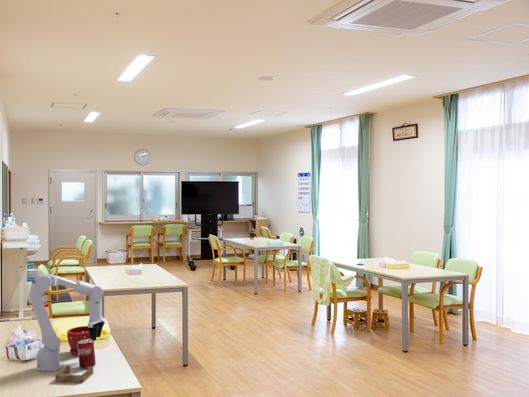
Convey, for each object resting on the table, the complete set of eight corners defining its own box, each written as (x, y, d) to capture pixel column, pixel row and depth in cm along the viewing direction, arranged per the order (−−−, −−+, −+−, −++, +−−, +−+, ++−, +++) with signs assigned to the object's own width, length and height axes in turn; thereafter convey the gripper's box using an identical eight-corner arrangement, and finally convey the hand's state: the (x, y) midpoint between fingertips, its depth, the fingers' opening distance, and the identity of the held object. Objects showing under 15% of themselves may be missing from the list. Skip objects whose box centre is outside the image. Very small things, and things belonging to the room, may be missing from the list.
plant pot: (84, 347, 287) (83, 324, 287) (100, 351, 279) (100, 328, 279) (62, 353, 276) (61, 329, 276) (78, 358, 269) (77, 333, 268)
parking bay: (55, 382, 237) (55, 375, 236) (67, 372, 248) (67, 366, 248) (82, 382, 236) (82, 375, 235) (93, 373, 247) (93, 367, 247)
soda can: (90, 369, 251) (87, 343, 251) (76, 369, 253) (73, 343, 253) (98, 363, 258) (96, 338, 258) (85, 363, 260) (83, 338, 260)
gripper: (97, 314, 258) (98, 343, 258) (109, 307, 272) (109, 334, 273) (83, 314, 258) (83, 342, 259) (95, 307, 273) (95, 334, 273)
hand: (95, 338), depth 266 cm, fingers open, 5 cm apart
